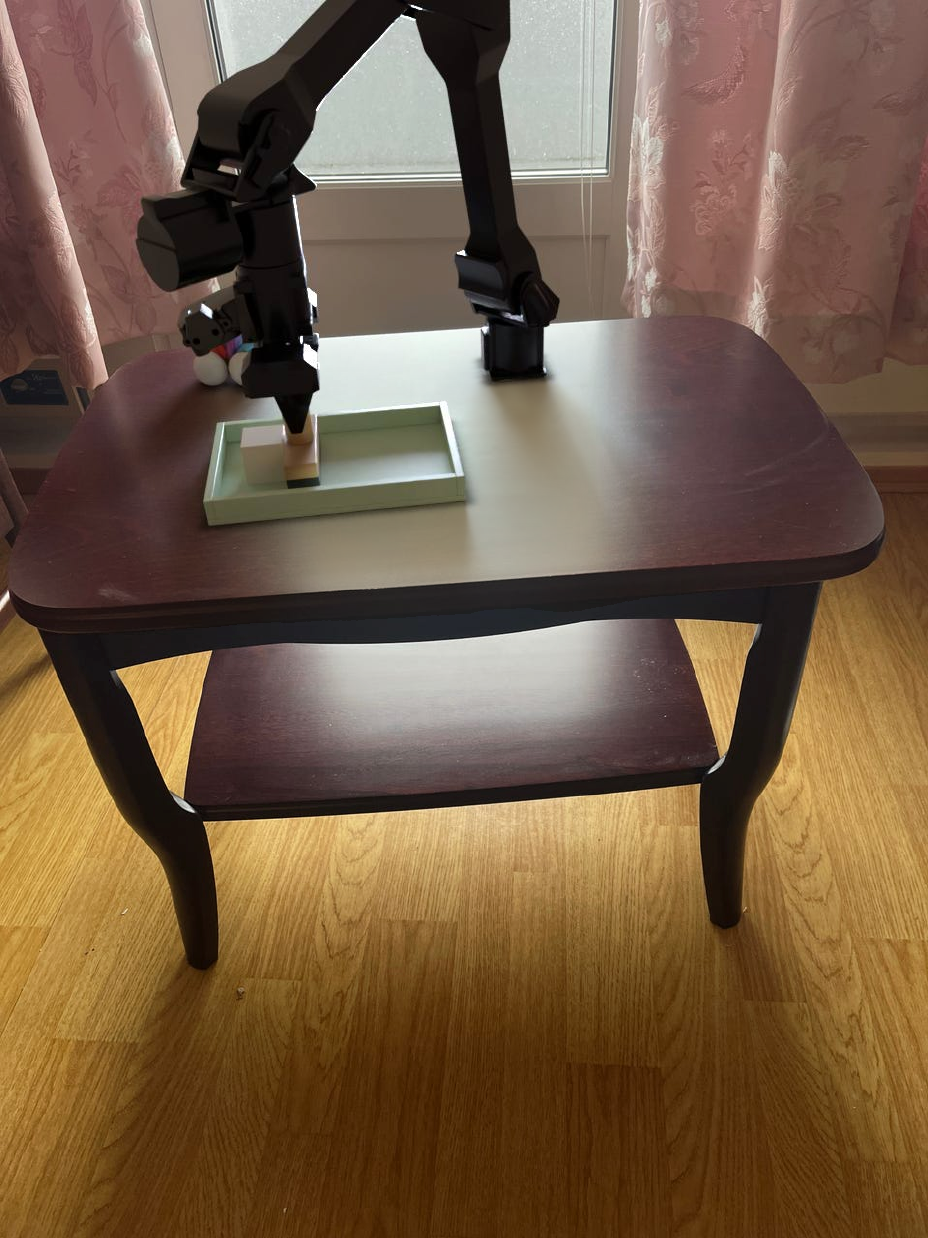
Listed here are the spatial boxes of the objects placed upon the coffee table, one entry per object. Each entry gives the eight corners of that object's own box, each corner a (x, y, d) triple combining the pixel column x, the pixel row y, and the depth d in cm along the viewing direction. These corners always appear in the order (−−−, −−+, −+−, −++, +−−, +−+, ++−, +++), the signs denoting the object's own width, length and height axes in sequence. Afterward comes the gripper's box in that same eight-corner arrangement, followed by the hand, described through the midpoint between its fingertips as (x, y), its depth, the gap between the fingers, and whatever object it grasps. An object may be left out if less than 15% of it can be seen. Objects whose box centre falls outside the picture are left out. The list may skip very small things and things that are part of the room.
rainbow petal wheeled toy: (213, 359, 116) (201, 300, 111) (290, 361, 114) (280, 302, 110) (187, 389, 109) (172, 328, 105) (267, 392, 108) (256, 330, 103)
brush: (289, 494, 88) (271, 405, 83) (291, 444, 96) (275, 359, 91) (321, 491, 89) (305, 402, 83) (320, 440, 96) (306, 356, 91)
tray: (447, 423, 100) (446, 401, 98) (466, 500, 88) (464, 475, 86) (221, 445, 98) (216, 422, 97) (208, 526, 86) (202, 501, 85)
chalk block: (290, 460, 94) (284, 423, 92) (289, 480, 91) (283, 443, 88) (250, 464, 94) (242, 427, 91) (247, 485, 91) (239, 447, 88)
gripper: (183, 232, 87) (218, 391, 96) (158, 305, 72) (201, 484, 82) (306, 222, 87) (328, 381, 97) (305, 292, 73) (331, 471, 83)
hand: (297, 425), depth 90 cm, fingers closed on brush, 2 cm apart
